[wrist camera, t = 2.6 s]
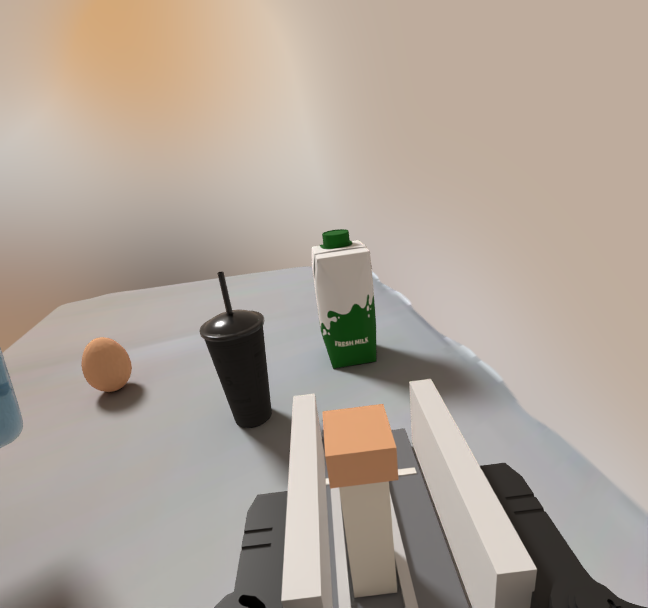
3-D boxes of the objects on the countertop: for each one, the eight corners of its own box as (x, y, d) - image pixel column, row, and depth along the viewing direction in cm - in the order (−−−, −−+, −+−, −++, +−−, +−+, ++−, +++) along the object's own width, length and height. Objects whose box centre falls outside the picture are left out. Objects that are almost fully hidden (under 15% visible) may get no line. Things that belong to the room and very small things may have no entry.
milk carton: (370, 338, 67) (360, 225, 60) (383, 364, 59) (374, 236, 51) (321, 346, 66) (305, 233, 59) (328, 373, 58) (310, 245, 51)
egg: (108, 379, 65) (90, 331, 61) (145, 376, 64) (128, 327, 61) (83, 402, 59) (61, 350, 55) (123, 400, 58) (104, 347, 55)
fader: (406, 599, 26) (396, 447, 21) (348, 606, 26) (325, 456, 21) (393, 543, 30) (383, 404, 25) (342, 550, 30) (322, 411, 25)
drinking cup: (241, 396, 55) (210, 263, 48) (290, 400, 53) (264, 261, 45) (213, 432, 48) (171, 284, 41) (267, 438, 46) (233, 283, 39)
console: (497, 708, 22) (499, 677, 21) (292, 733, 22) (283, 703, 21) (405, 442, 43) (404, 419, 41) (299, 456, 43) (295, 433, 41)
